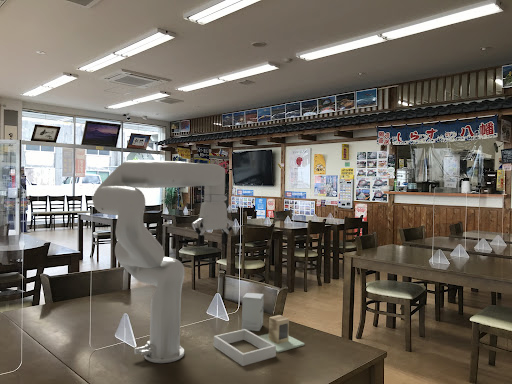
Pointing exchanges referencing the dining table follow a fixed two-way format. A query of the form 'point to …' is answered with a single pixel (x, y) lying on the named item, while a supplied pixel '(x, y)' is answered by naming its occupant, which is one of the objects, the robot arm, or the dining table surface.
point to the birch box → (278, 329)
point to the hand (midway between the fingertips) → (213, 244)
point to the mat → (286, 345)
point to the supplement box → (252, 311)
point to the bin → (243, 359)
